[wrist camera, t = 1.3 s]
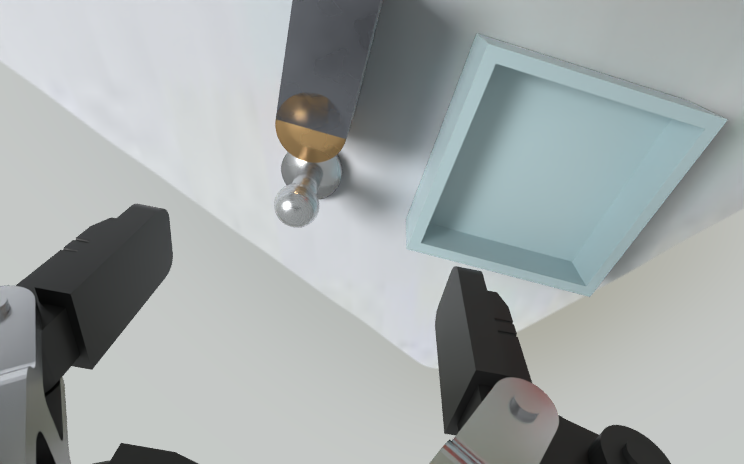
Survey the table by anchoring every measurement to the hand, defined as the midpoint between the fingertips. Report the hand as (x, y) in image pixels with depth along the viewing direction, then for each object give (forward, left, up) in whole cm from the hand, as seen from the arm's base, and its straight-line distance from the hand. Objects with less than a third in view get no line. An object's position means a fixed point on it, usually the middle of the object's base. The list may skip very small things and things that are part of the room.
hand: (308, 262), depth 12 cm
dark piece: (-2, +3, -19) cm, 19 cm away
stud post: (-2, -6, -19) cm, 20 cm away
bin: (+13, -2, -19) cm, 23 cm away
